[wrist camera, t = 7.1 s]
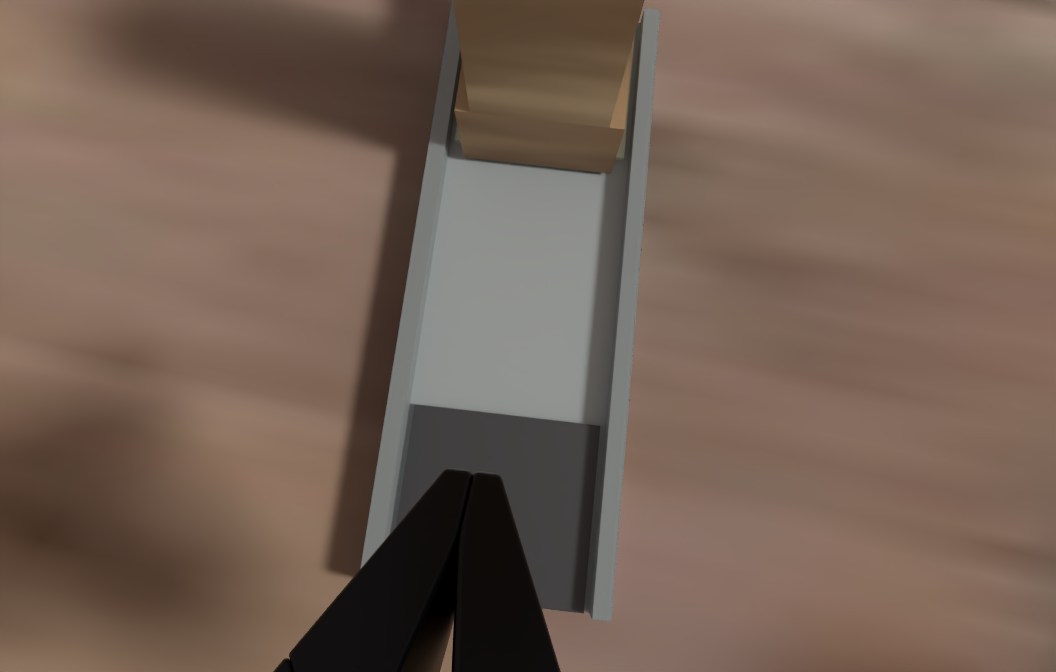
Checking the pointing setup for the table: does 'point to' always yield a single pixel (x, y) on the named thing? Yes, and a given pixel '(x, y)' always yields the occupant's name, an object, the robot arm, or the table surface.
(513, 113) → the stepped wooden block
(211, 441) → the table surface
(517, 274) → the track
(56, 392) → the table surface
